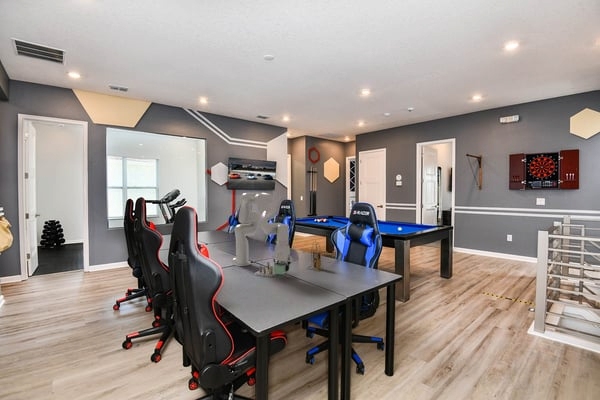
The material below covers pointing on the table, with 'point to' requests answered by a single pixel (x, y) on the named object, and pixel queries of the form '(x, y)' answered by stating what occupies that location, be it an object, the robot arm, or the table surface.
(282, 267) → the module
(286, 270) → the robot arm
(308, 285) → the table surface
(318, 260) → the multimeter
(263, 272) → the chassis
